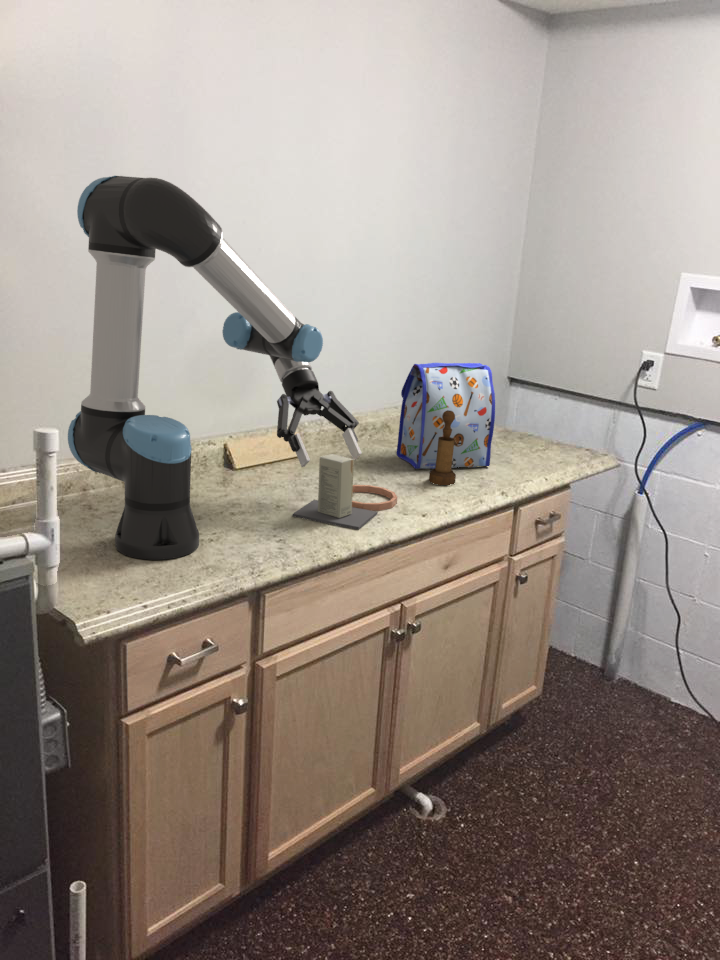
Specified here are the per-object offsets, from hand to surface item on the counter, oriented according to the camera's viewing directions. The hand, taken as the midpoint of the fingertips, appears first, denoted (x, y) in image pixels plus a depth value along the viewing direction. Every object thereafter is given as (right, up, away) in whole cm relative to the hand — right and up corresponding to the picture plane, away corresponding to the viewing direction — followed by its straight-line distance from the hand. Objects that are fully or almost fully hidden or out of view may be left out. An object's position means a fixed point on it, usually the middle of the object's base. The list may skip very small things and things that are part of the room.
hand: (332, 460), depth 178 cm
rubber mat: (+1, -12, 0) cm, 12 cm away
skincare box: (0, -11, 0) cm, 11 cm away
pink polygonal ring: (+7, -9, +11) cm, 16 cm away
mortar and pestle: (+26, -5, +29) cm, 39 cm away
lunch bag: (+28, 0, +47) cm, 55 cm away
